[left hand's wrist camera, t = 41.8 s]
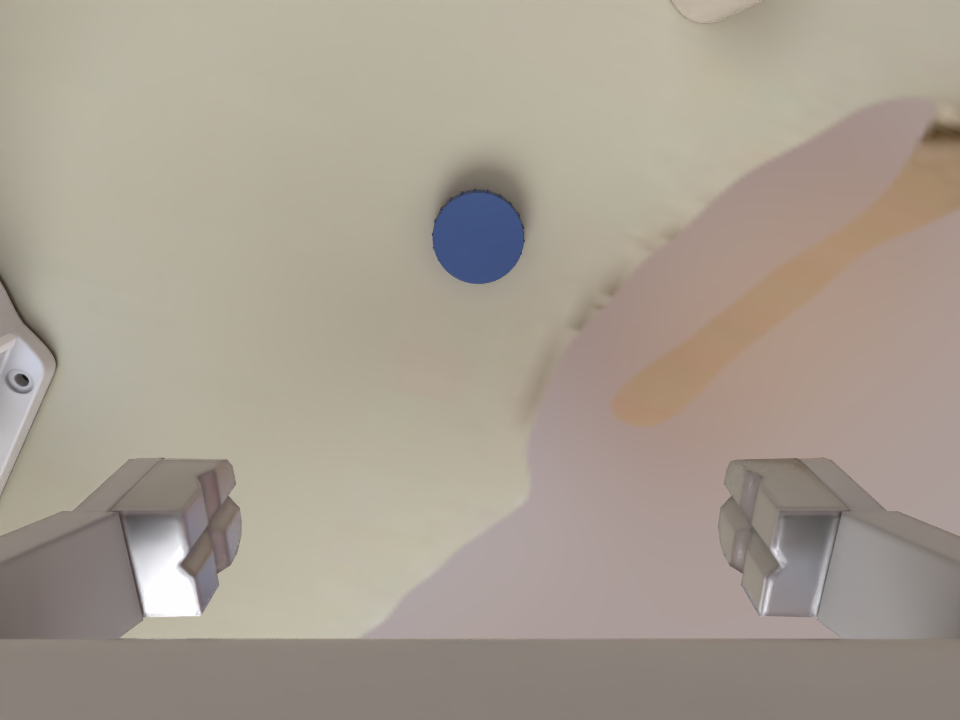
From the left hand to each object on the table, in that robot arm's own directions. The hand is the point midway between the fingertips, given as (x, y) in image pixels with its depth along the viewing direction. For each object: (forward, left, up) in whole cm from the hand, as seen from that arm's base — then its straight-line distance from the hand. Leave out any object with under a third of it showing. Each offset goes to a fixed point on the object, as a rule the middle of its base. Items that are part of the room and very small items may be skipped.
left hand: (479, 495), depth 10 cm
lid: (0, 0, -27) cm, 27 cm away
